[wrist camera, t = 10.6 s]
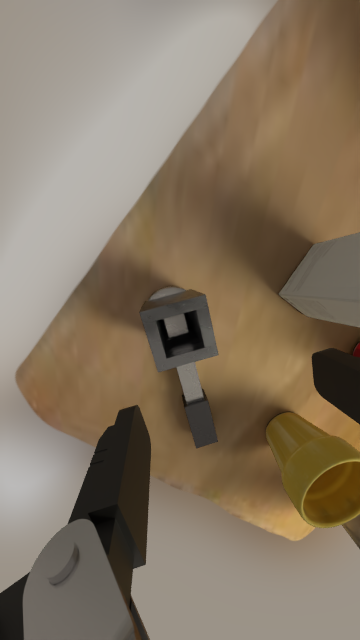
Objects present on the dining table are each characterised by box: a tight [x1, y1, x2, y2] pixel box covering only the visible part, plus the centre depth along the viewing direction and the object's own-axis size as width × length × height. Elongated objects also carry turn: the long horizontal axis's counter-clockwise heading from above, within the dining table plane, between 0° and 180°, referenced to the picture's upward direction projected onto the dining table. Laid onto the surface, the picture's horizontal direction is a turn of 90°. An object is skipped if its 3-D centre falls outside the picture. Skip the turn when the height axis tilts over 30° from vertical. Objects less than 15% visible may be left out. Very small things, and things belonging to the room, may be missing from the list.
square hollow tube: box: [139, 289, 218, 372], centre depth 18 cm, size 5×5×6 cm
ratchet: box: [148, 286, 218, 448], centre depth 23 cm, size 22×7×6 cm, turn 14°
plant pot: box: [266, 412, 360, 528], centre depth 26 cm, size 10×10×10 cm
